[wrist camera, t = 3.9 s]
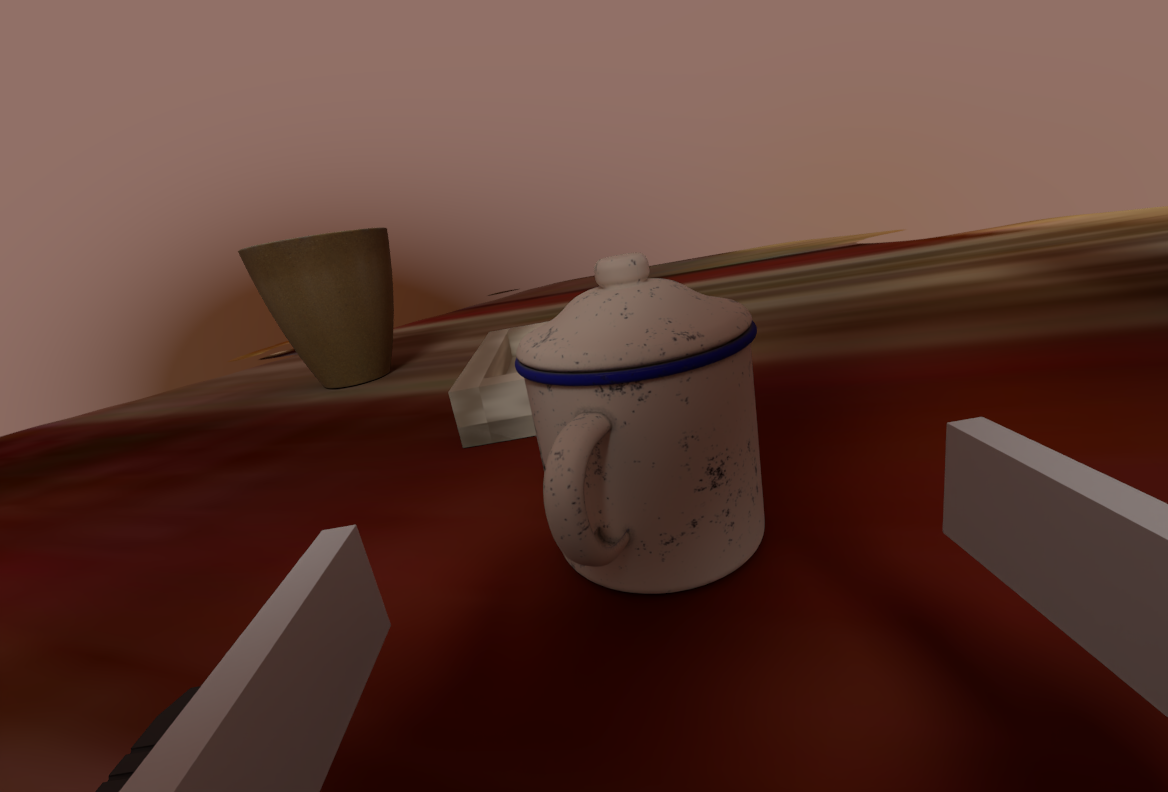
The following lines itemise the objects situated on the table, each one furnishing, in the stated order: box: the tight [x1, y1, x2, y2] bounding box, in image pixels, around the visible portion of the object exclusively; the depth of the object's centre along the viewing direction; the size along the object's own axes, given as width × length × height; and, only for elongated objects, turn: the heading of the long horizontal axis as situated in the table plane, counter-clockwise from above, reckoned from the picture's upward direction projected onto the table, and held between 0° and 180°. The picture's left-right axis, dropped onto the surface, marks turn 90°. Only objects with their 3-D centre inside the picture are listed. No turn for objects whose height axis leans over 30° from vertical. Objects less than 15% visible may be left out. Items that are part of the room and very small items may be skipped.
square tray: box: [448, 321, 550, 448], centre depth 45 cm, size 17×20×4 cm
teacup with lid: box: [515, 253, 765, 594], centre depth 20 cm, size 12×9×12 cm
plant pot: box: [238, 228, 394, 388], centre depth 61 cm, size 15×15×16 cm
